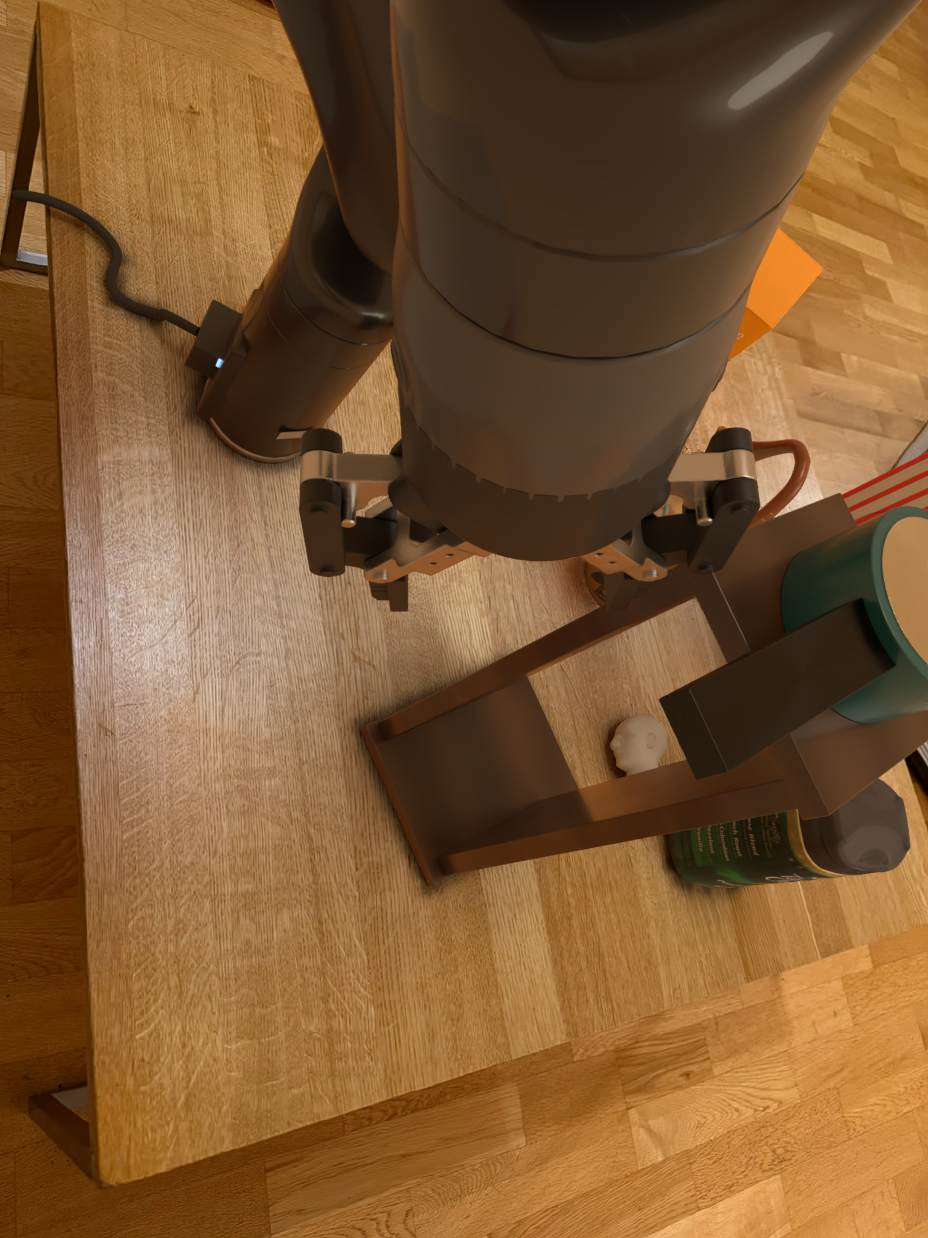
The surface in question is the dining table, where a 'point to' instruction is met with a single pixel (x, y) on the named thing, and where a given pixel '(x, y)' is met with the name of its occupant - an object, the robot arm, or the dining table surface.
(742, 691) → the milk pan
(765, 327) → the orange juice
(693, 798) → the shelf stand
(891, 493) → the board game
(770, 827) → the coffee jar
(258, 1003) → the dining table surface
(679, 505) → the ceramic vessel
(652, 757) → the smooth white sculpture
